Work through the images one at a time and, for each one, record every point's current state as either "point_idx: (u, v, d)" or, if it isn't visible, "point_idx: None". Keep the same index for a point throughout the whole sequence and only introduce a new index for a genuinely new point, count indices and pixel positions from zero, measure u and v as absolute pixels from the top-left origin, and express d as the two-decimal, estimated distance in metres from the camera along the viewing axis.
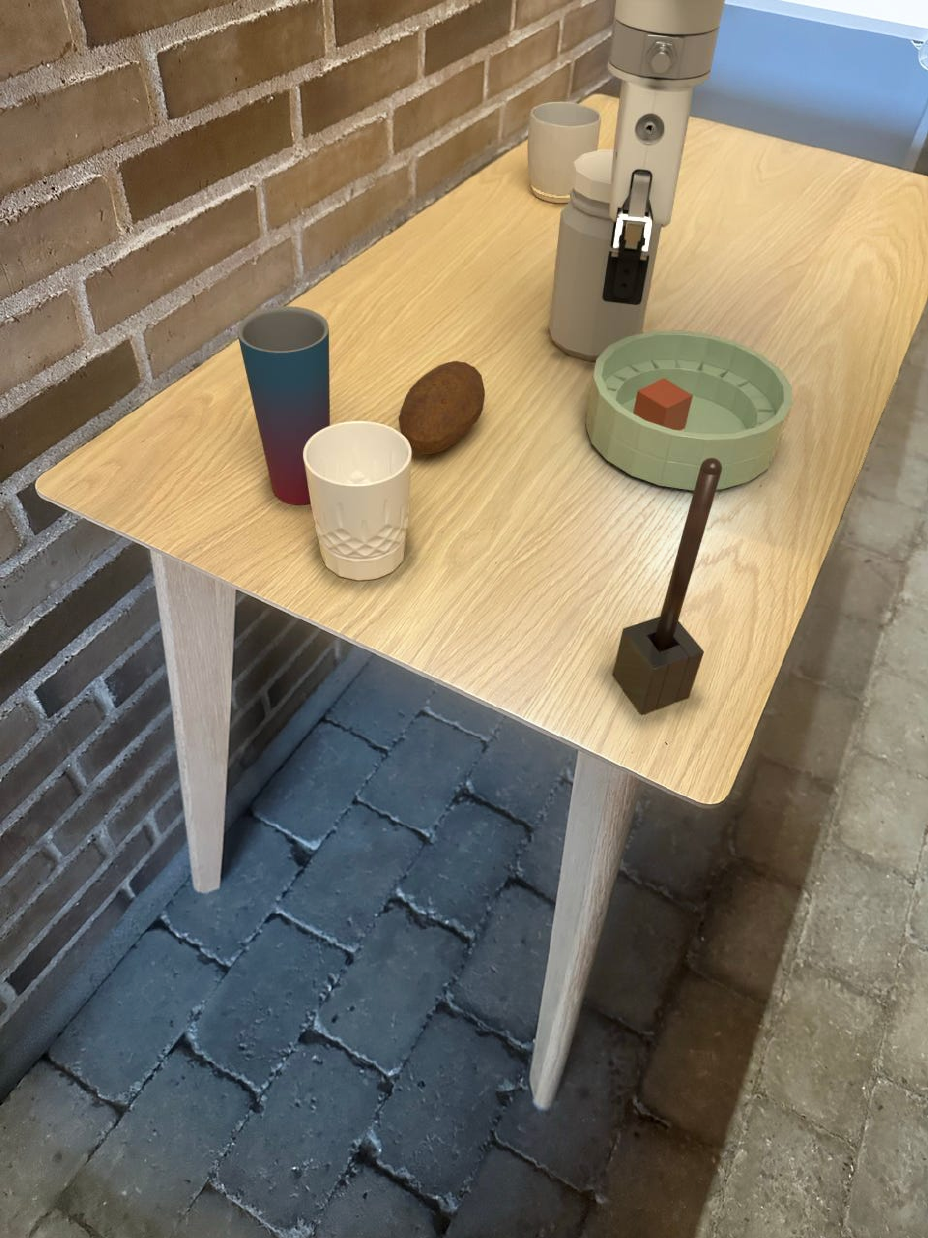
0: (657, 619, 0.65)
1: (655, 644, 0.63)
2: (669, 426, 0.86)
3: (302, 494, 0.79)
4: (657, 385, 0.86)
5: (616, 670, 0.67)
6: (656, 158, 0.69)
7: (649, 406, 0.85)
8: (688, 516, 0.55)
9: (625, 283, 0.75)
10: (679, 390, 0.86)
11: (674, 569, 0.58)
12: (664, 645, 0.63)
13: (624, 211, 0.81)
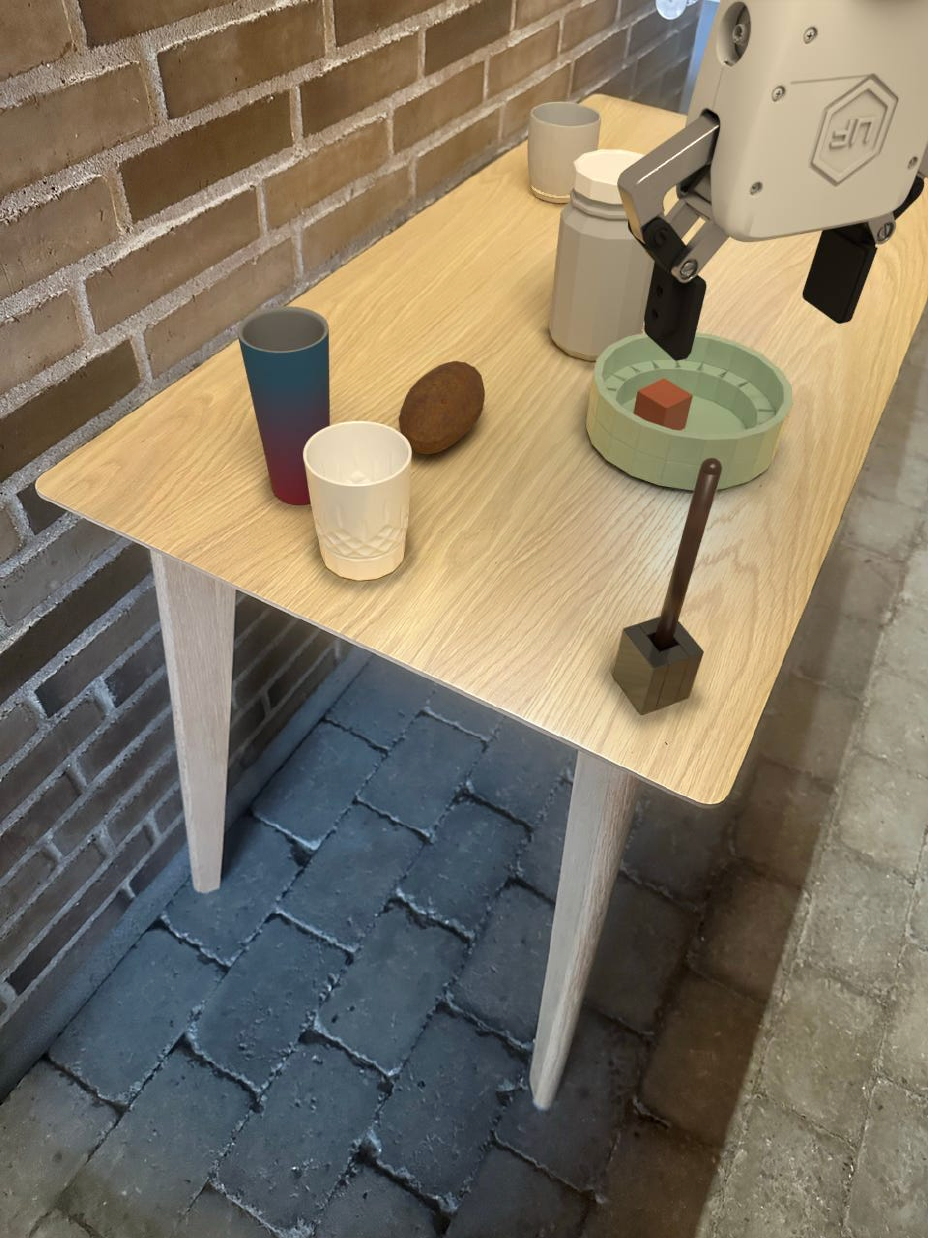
0: (657, 619, 0.65)
1: (655, 644, 0.63)
2: (669, 426, 0.86)
3: (302, 494, 0.79)
4: (657, 385, 0.86)
5: (616, 670, 0.67)
6: (729, 95, 0.36)
7: (649, 406, 0.85)
8: (688, 516, 0.55)
9: (658, 310, 0.43)
10: (679, 390, 0.86)
11: (674, 569, 0.58)
12: (664, 645, 0.63)
13: (829, 239, 0.46)
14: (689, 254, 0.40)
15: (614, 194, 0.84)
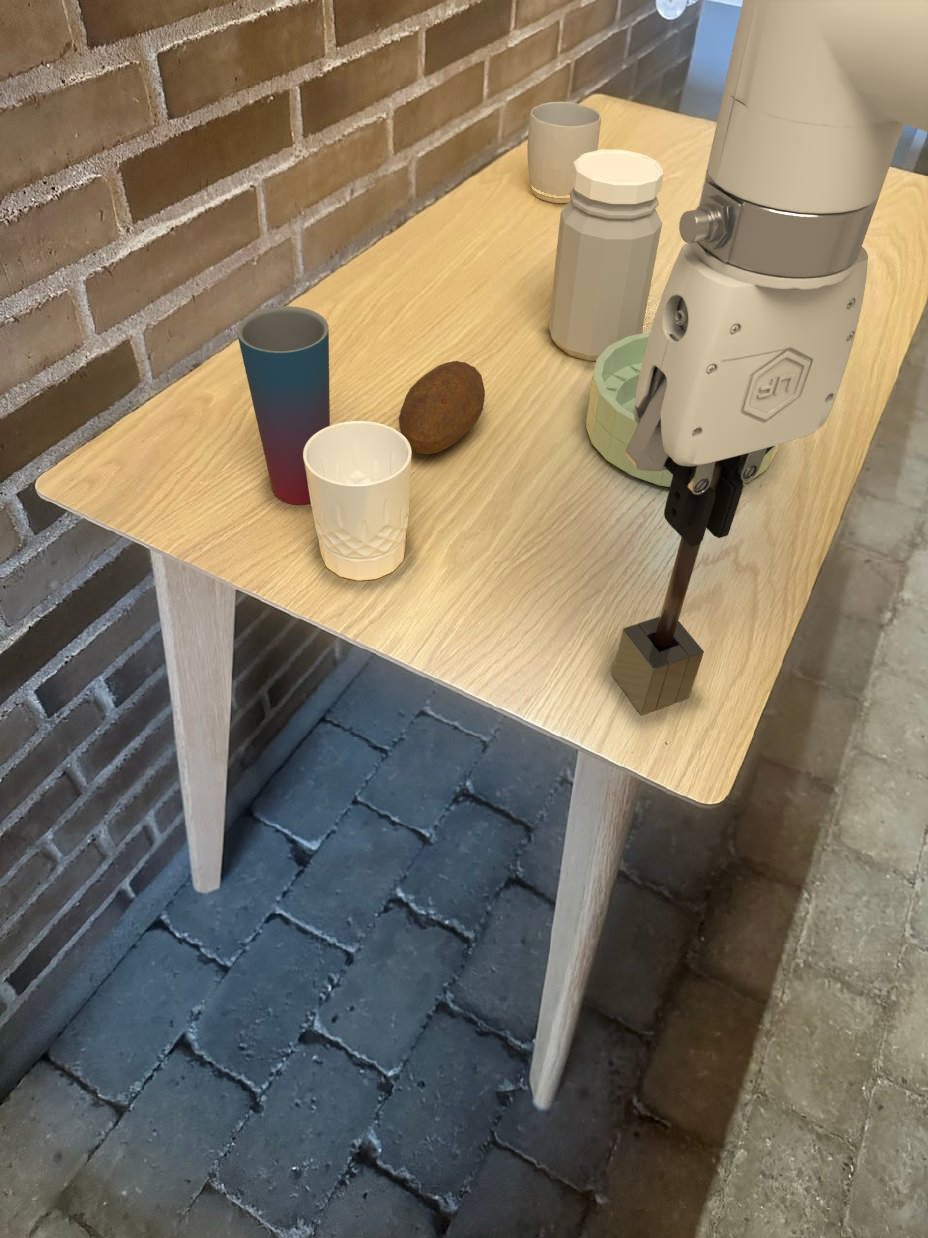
0: (657, 619, 0.65)
1: (655, 644, 0.63)
2: None
3: (302, 494, 0.79)
4: None
5: (616, 670, 0.67)
6: (673, 363, 0.45)
7: None
8: None
9: (676, 509, 0.54)
10: None
11: (674, 569, 0.58)
12: (664, 645, 0.63)
13: None
14: (694, 482, 0.51)
15: (614, 194, 0.84)
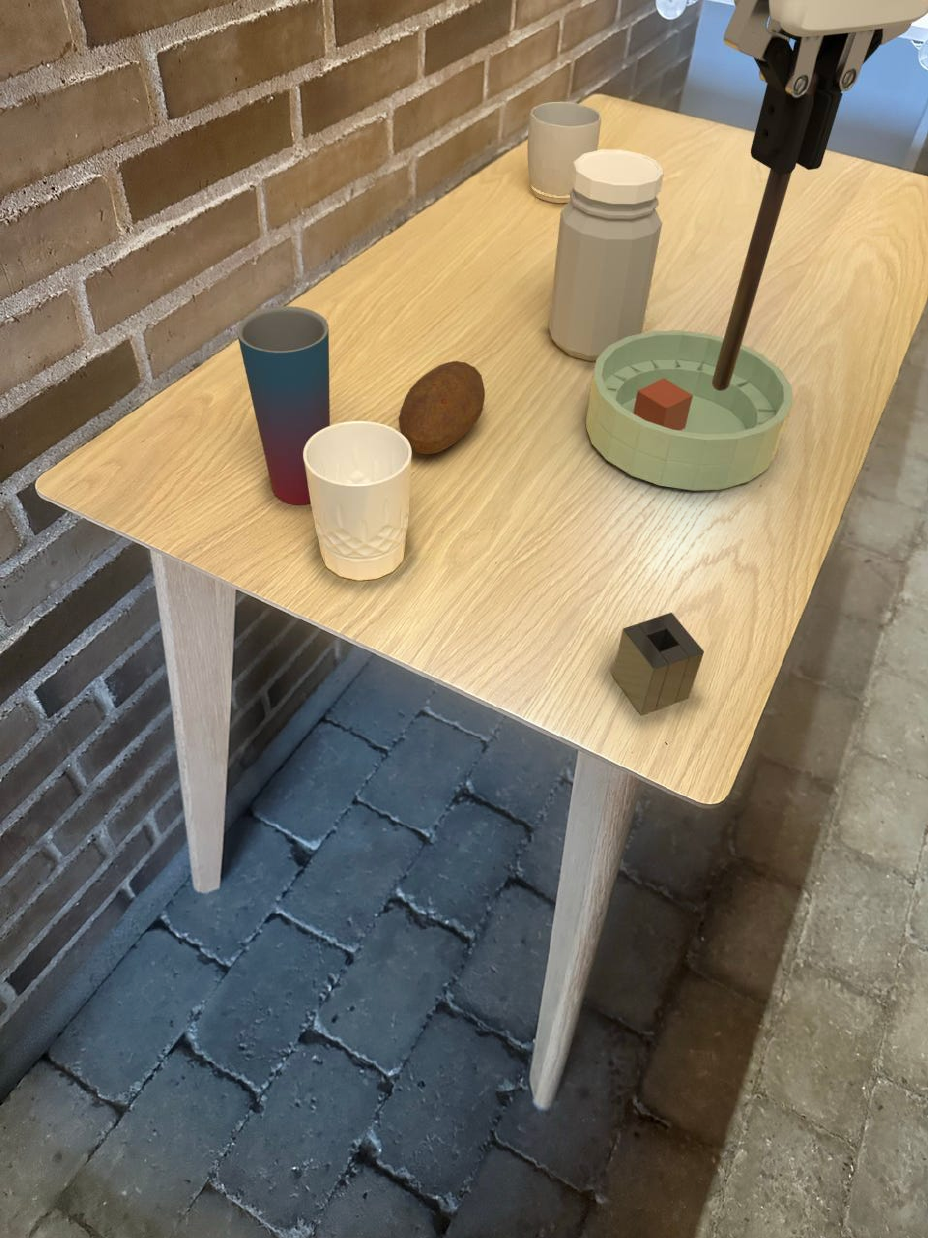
0: (657, 619, 0.65)
1: (730, 327, 0.61)
2: (669, 426, 0.86)
3: (302, 494, 0.79)
4: (657, 385, 0.86)
5: (616, 670, 0.67)
6: None
7: (649, 406, 0.85)
8: None
9: (768, 129, 0.51)
10: (679, 390, 0.86)
11: (757, 222, 0.56)
12: (740, 326, 0.60)
13: None
14: (794, 77, 0.48)
15: (614, 194, 0.84)
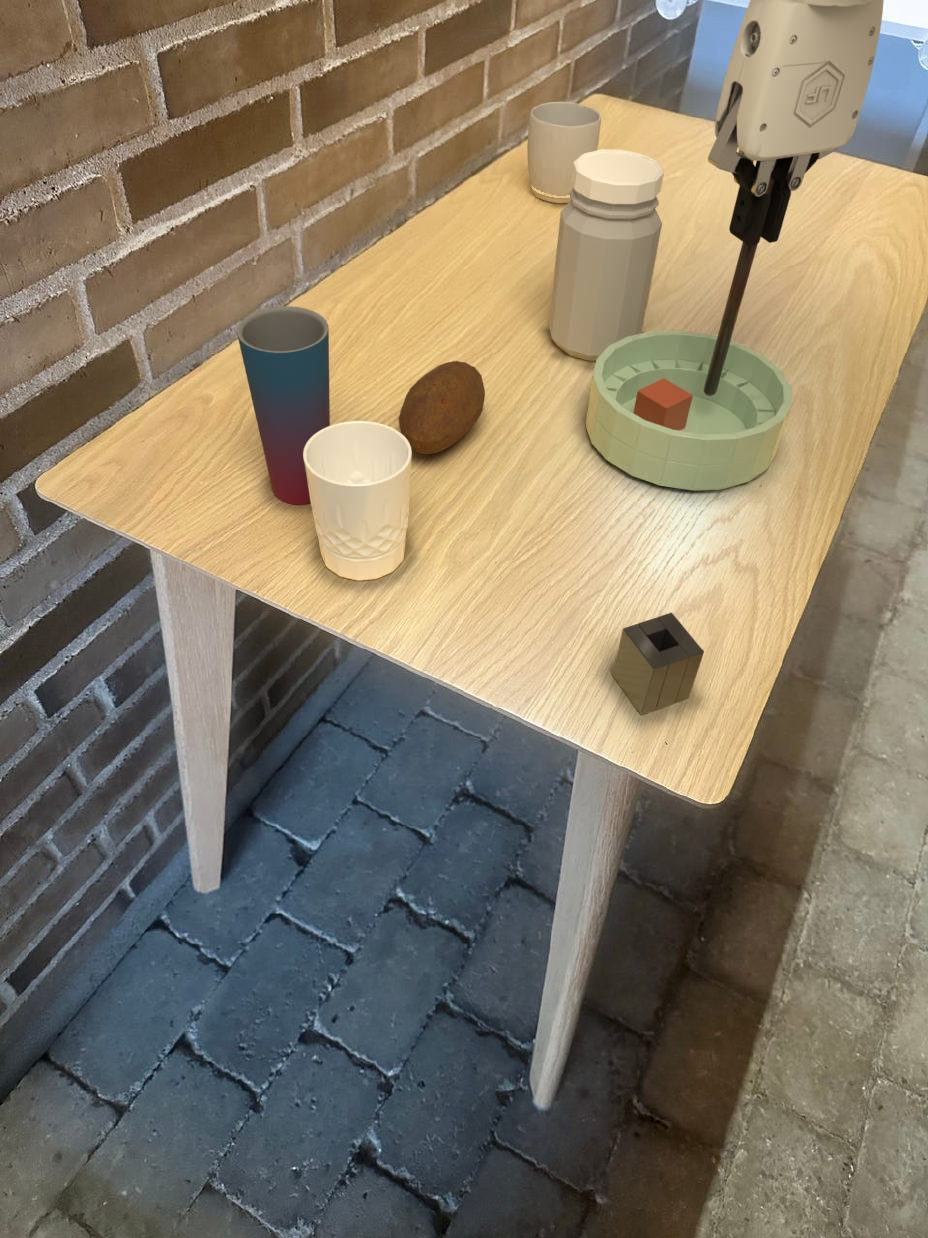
0: (657, 619, 0.65)
1: (716, 350, 0.83)
2: (669, 426, 0.86)
3: (302, 494, 0.79)
4: (657, 385, 0.86)
5: (616, 670, 0.67)
6: (748, 73, 0.65)
7: (649, 406, 0.85)
8: None
9: (740, 215, 0.74)
10: (679, 390, 0.86)
11: (734, 276, 0.78)
12: (723, 349, 0.83)
13: None
14: (756, 184, 0.71)
15: (614, 194, 0.84)
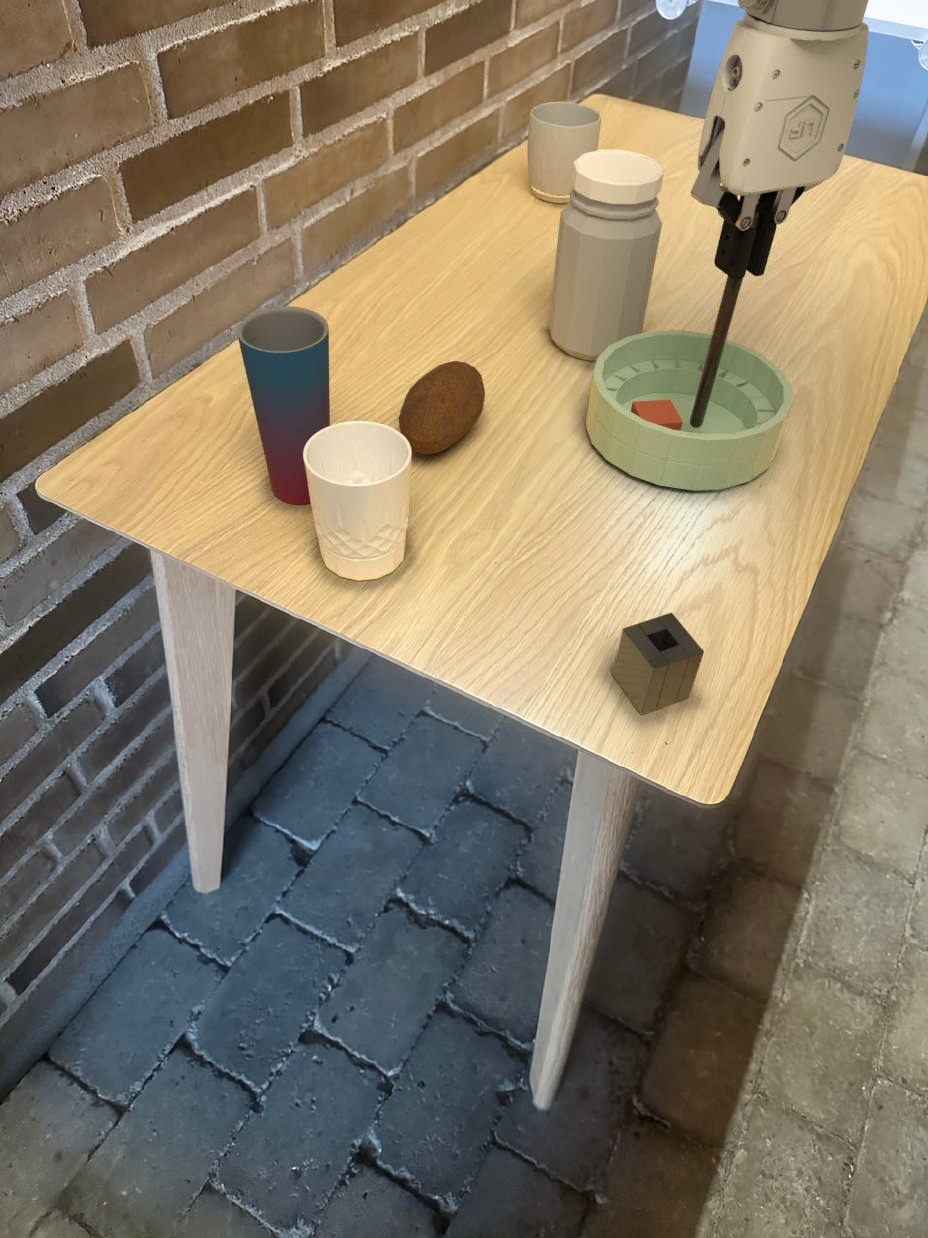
0: (657, 619, 0.65)
1: (701, 382, 0.81)
2: None
3: (302, 494, 0.79)
4: (656, 403, 0.84)
5: (616, 670, 0.67)
6: (730, 107, 0.63)
7: None
8: None
9: (725, 249, 0.72)
10: (673, 413, 0.83)
11: (720, 309, 0.77)
12: (708, 382, 0.81)
13: None
14: (740, 218, 0.69)
15: (614, 194, 0.84)
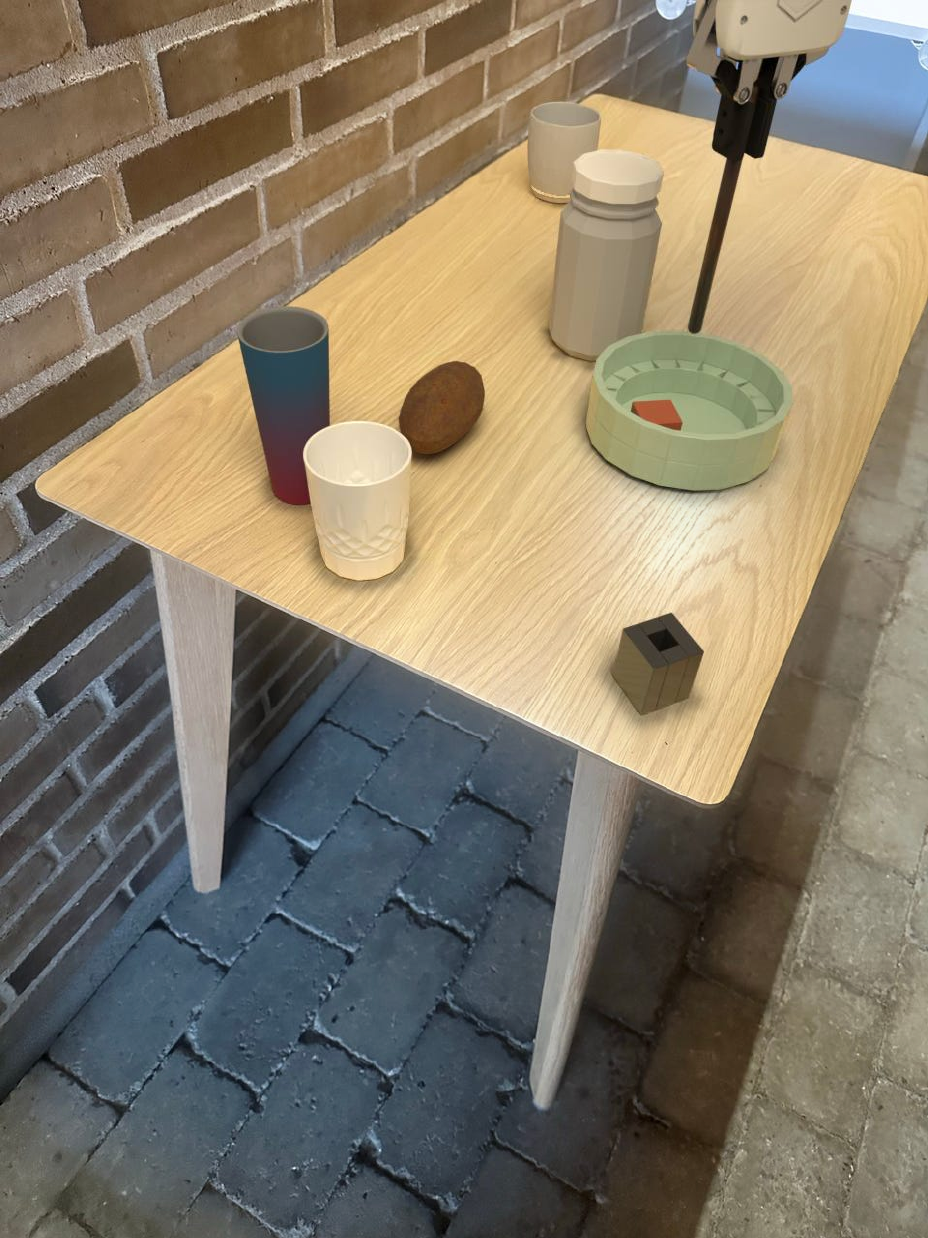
0: (657, 619, 0.65)
1: (699, 282, 0.78)
2: None
3: (302, 494, 0.79)
4: (656, 403, 0.84)
5: (616, 670, 0.67)
6: None
7: None
8: None
9: (723, 127, 0.69)
10: (673, 413, 0.83)
11: (718, 198, 0.73)
12: (707, 281, 0.78)
13: None
14: (738, 89, 0.66)
15: (614, 194, 0.84)
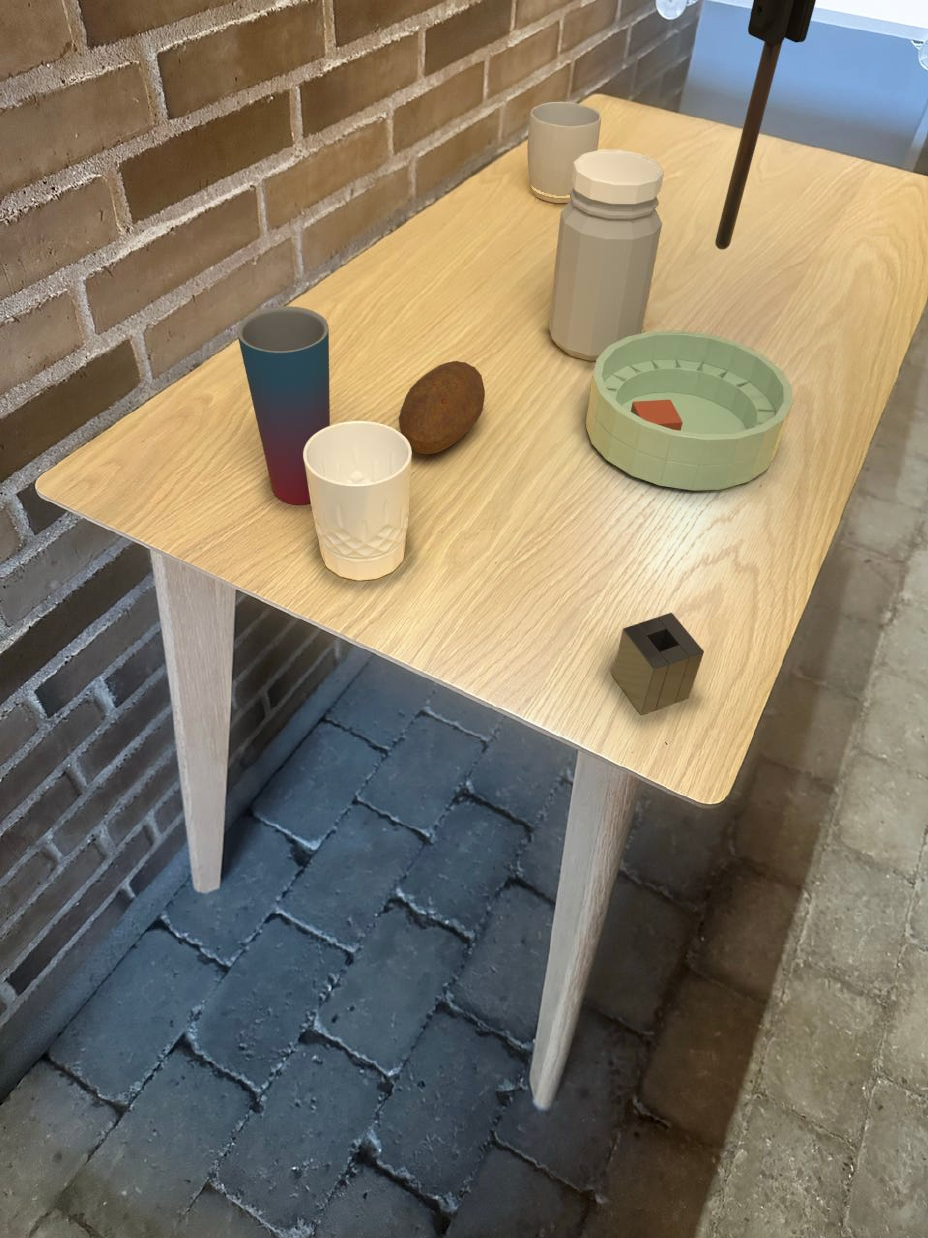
0: (657, 619, 0.65)
1: (730, 189, 0.72)
2: None
3: (302, 494, 0.79)
4: (656, 403, 0.84)
5: (616, 670, 0.67)
6: None
7: None
8: None
9: (762, 5, 0.62)
10: (673, 413, 0.83)
11: (753, 91, 0.67)
12: (738, 187, 0.71)
13: None
14: None
15: (614, 194, 0.84)
